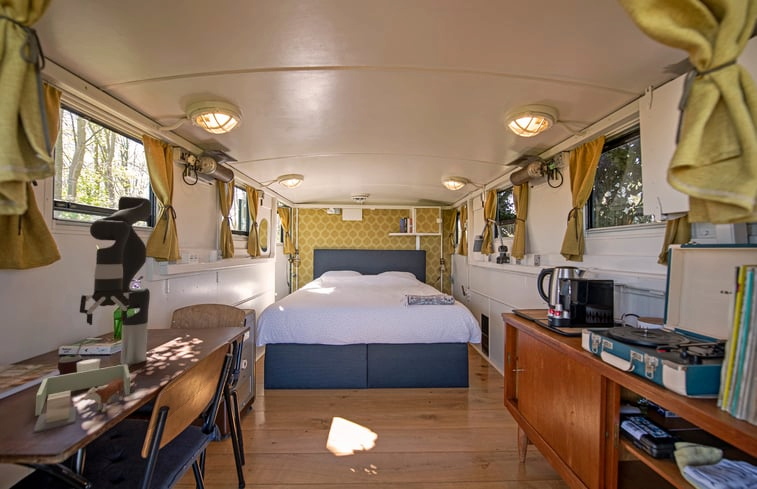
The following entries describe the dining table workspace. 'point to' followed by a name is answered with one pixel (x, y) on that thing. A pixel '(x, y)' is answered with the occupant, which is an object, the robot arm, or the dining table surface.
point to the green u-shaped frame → (81, 382)
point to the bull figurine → (105, 393)
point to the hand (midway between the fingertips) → (107, 322)
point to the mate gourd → (70, 362)
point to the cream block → (58, 406)
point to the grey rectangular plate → (42, 424)
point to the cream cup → (88, 365)
